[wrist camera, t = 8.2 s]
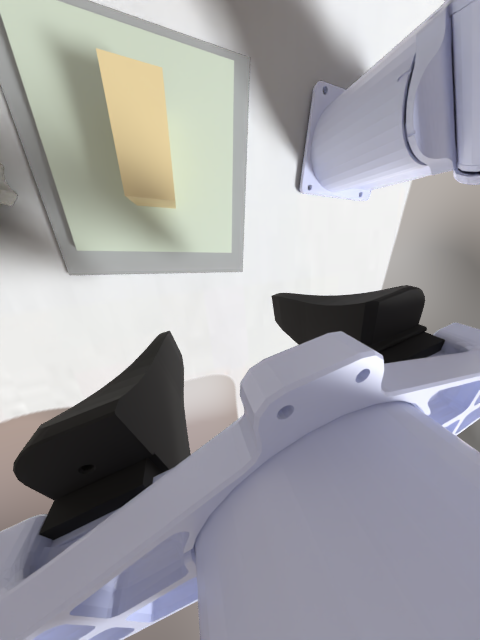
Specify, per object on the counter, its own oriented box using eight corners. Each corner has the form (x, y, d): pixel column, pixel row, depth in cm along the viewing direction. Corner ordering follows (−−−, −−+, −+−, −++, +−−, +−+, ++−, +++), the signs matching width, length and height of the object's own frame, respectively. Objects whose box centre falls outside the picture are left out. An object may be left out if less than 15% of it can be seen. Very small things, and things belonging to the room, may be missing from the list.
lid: (231, 69, 13) (253, -1, 9) (229, 252, 19) (243, 256, 15) (2, -5, 10) (-121, -173, 6) (81, 250, 15) (46, 254, 11)
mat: (248, 62, 14) (250, 57, 13) (241, 271, 20) (242, 271, 20) (-40, -37, 9) (-48, -48, 9) (71, 274, 16) (69, 275, 15)
